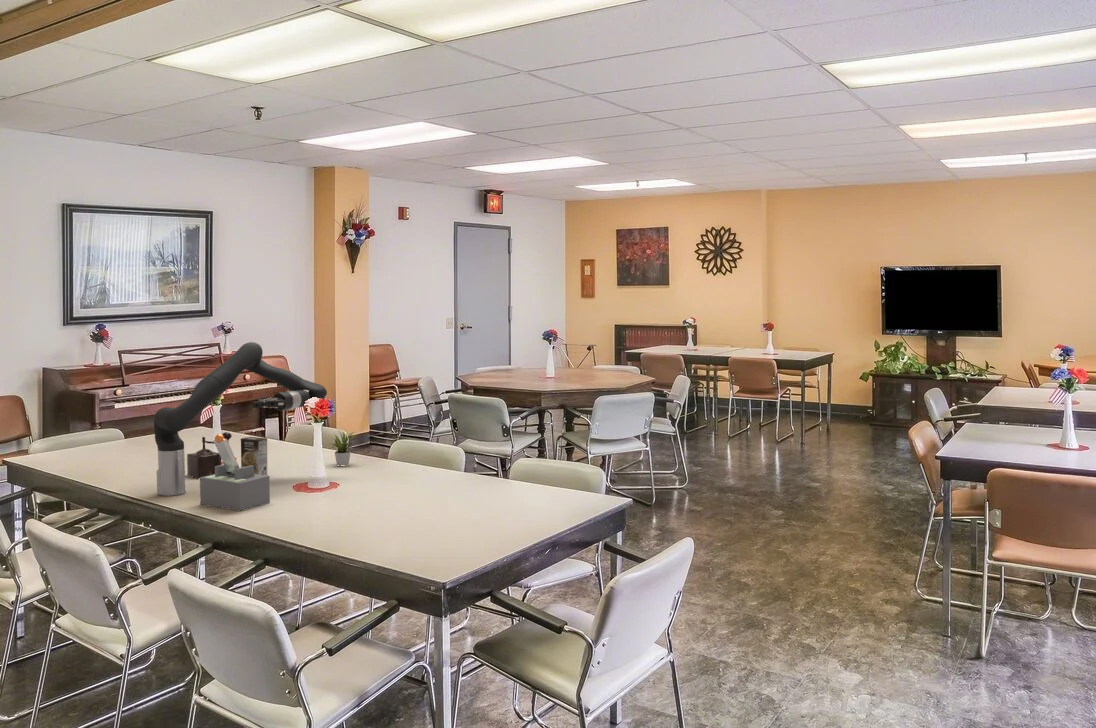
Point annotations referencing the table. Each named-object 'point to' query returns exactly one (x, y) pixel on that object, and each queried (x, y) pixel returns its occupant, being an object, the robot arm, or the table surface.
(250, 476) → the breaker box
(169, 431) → the robot arm
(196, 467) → the manual coffee grinder
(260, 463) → the coffee box
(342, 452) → the house plant
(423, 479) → the table surface
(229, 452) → the lever
